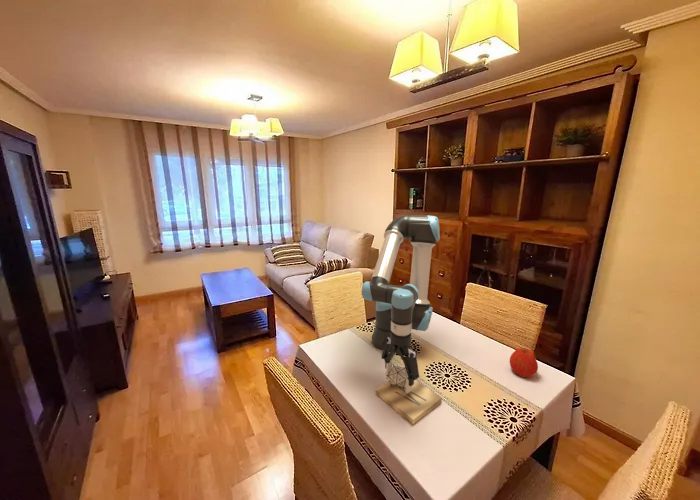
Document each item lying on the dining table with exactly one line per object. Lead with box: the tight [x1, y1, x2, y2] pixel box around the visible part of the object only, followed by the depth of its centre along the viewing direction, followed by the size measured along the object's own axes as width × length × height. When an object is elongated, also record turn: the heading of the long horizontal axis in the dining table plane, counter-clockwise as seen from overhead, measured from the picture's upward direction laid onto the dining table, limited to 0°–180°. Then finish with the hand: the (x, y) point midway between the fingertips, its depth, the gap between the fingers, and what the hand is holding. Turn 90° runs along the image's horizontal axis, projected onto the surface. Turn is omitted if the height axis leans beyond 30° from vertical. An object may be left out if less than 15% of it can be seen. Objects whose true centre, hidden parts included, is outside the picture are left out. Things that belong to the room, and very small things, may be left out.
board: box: [375, 379, 443, 425], centre depth 105 cm, size 18×16×2 cm
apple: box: [509, 347, 539, 378], centre depth 118 cm, size 10×10×10 cm
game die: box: [385, 363, 408, 389], centre depth 107 cm, size 9×8×10 cm
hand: (398, 384), depth 108 cm, fingers closed on game die, 9 cm apart
